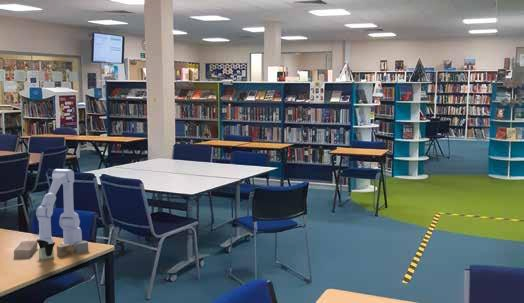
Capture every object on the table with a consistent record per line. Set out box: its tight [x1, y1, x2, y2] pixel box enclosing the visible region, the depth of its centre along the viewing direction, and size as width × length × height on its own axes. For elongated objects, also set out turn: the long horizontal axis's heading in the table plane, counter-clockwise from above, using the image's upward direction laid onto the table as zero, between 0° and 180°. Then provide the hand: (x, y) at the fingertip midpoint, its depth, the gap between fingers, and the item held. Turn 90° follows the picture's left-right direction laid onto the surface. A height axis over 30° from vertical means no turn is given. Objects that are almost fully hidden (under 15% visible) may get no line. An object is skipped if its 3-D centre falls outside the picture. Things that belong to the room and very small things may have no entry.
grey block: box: [73, 240, 89, 254], centre depth 278 cm, size 6×4×5 cm, turn 133°
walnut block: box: [56, 243, 72, 257], centre depth 273 cm, size 6×4×5 cm, turn 133°
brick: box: [13, 240, 38, 259], centre depth 275 cm, size 17×8×5 cm, turn 11°
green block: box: [38, 247, 55, 261], centre depth 267 cm, size 6×4×5 cm, turn 133°
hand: (46, 254), depth 267 cm, fingers open, 7 cm apart
